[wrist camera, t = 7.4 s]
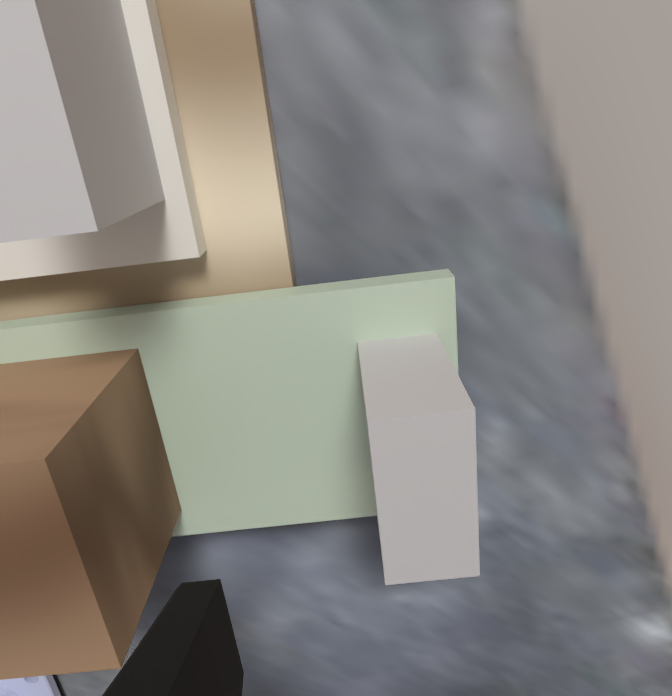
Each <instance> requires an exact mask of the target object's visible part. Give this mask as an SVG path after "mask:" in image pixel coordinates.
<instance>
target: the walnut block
mask: <svg viewBox="0 0 672 696" xmlns="http://www.w3.org/2000/svg"><path fill="white" fill-rule="evenodd" d="M181 510H182V509H181V506H180V502H179V498H178V494H177V491H176V487H175V483H174V480H173V476H172V472H171V468H170V465H169V461H168V457H167V454H166V450H165V446H164V442H163V439H162V435H161V431H160V428H159V424H158V420H157V416H156V413H155V409H154V405H153V402H152V398H151V394H150V390H149V387H148V383H147V379H146V376H145V372H144V368H143V364H142V361H141V357H140V353H139V350H138V348H137V349H128V350H119V351H111V352H102V353H93V354H84V355H76V356H67V357H58V358H49V359H41V360H32V361H23V362H14V363H5V364H0V680H3V679H14V678H25V677H35V676H46V675H56V674H67V673H77V672H88V671H99V670H109V669H120V668H122V665H123V662H124V660H125V657H126V654H127V652H128V649H129V647H130V644H131V641H132V639H133V636H134V633H135V631H136V628H137V626H138V623H139V620H140V618H141V615H142V612H143V610H144V607H145V605H146V602H147V599H148V597H149V594H150V592H151V589H152V586H153V584H154V581H155V578H156V576H157V573H158V571H159V568H160V565H161V563H162V560H163V557H164V555H165V552H166V550H167V547H168V544H169V542H170V539H171V536H172V534H173V531H174V529H175V526H176V523H177V521H178V518H179V515H180V513H181Z"/></svg>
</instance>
